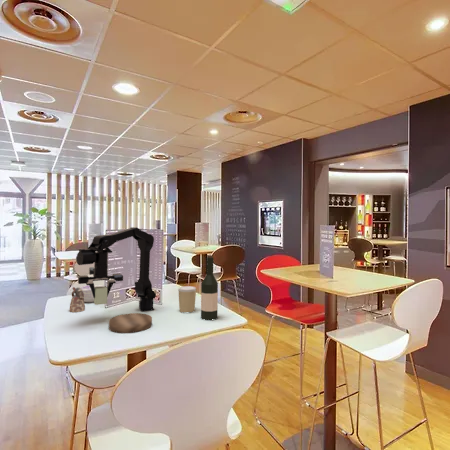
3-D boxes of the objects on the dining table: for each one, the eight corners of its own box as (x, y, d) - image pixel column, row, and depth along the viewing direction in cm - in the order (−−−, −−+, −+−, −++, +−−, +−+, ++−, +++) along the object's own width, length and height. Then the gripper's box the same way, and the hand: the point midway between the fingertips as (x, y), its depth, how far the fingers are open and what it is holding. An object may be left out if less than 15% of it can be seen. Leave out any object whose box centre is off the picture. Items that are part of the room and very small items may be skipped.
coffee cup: (198, 309, 161) (199, 286, 161) (191, 314, 152) (191, 290, 152) (183, 307, 164) (183, 285, 164) (174, 312, 155) (175, 288, 155)
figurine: (78, 312, 152) (79, 288, 152) (66, 311, 153) (66, 288, 153) (87, 309, 159) (88, 286, 159) (76, 308, 160) (76, 285, 160)
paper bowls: (86, 297, 185) (86, 284, 185) (109, 298, 183) (109, 285, 183) (70, 303, 170) (70, 289, 170) (95, 304, 168) (95, 290, 168)
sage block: (105, 301, 142) (105, 286, 142) (107, 303, 137) (107, 288, 137) (93, 302, 139) (94, 287, 139) (95, 304, 135) (95, 289, 135)
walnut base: (145, 317, 145) (145, 311, 145) (156, 328, 130) (156, 321, 130) (106, 323, 137) (106, 316, 137) (112, 335, 121) (112, 328, 121)
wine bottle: (220, 316, 148) (221, 255, 149) (212, 321, 141) (213, 256, 141) (205, 314, 152) (206, 254, 152) (197, 318, 144) (198, 256, 145)
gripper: (119, 260, 150) (118, 291, 150) (77, 262, 141) (76, 295, 141) (123, 262, 140) (123, 296, 140) (78, 264, 131) (78, 301, 131)
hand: (100, 297), depth 138 cm, fingers closed on sage block, 5 cm apart
